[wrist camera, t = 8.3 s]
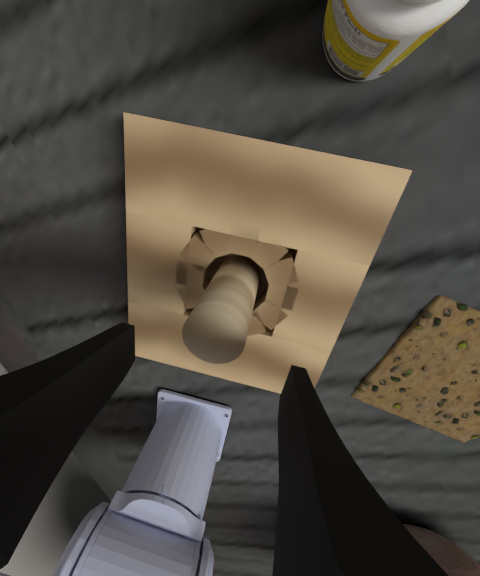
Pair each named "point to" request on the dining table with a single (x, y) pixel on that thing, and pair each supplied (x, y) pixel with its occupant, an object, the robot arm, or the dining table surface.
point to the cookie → (432, 372)
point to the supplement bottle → (379, 32)
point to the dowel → (223, 312)
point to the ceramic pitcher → (445, 552)
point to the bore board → (248, 241)
